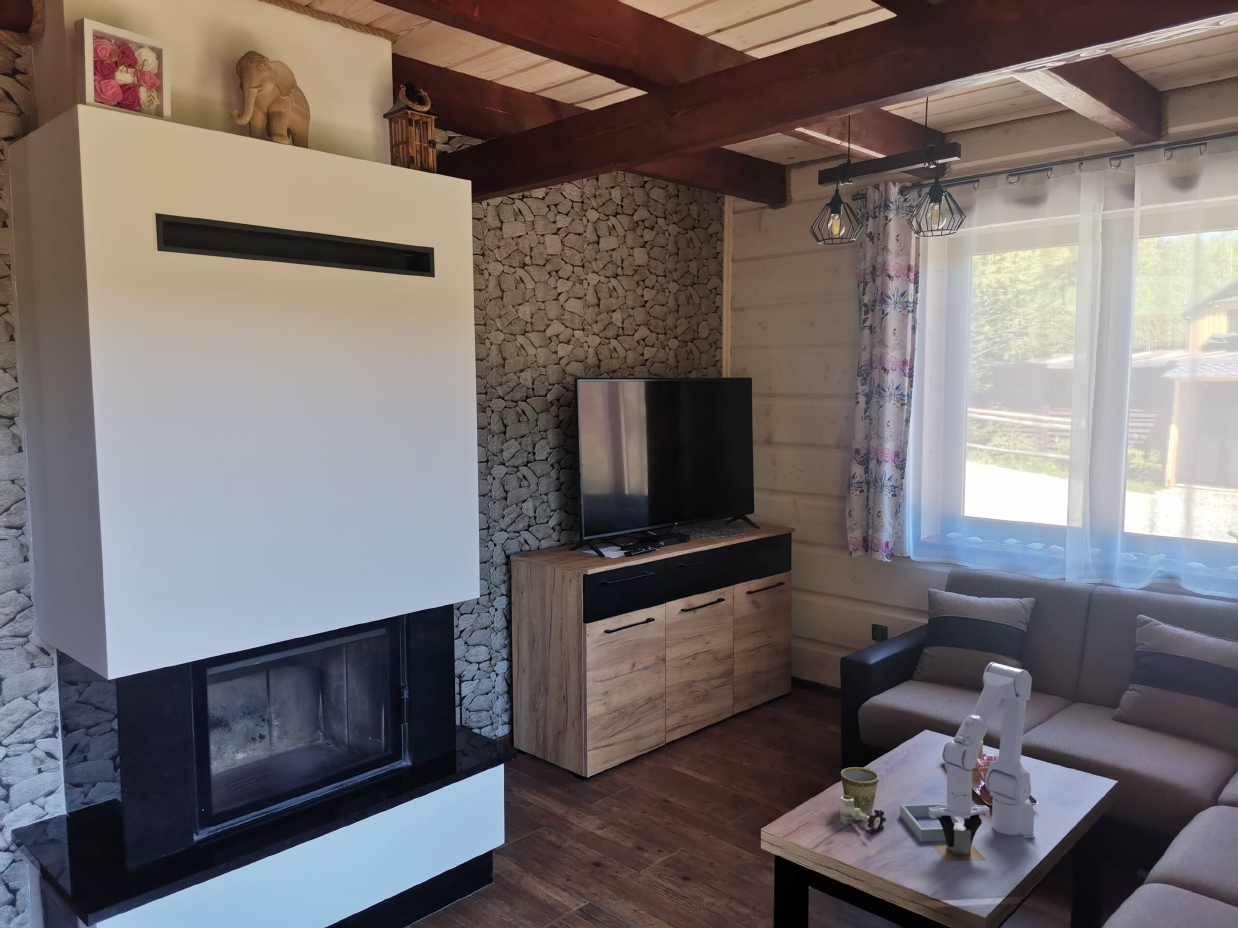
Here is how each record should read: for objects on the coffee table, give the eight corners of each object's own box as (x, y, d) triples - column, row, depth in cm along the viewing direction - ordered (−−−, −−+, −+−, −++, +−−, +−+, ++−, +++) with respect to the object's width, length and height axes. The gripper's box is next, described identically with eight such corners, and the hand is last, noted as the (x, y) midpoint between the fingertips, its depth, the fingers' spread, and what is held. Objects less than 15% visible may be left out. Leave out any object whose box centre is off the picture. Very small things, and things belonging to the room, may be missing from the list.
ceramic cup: (870, 821, 233) (870, 785, 233) (834, 811, 239) (835, 775, 239) (887, 803, 244) (887, 768, 243) (853, 794, 250) (853, 760, 249)
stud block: (970, 846, 219) (970, 832, 219) (985, 863, 211) (986, 848, 211) (931, 848, 218) (932, 834, 218) (945, 865, 211) (945, 850, 210)
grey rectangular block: (963, 847, 217) (963, 821, 217) (970, 855, 213) (971, 830, 212) (946, 847, 217) (946, 822, 216) (954, 856, 213) (954, 830, 212)
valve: (833, 822, 233) (870, 839, 224) (833, 798, 233) (870, 814, 223) (848, 814, 237) (886, 831, 228) (848, 791, 237) (886, 806, 227)
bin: (943, 817, 235) (943, 803, 235) (967, 843, 221) (967, 827, 221) (899, 819, 234) (900, 804, 234) (920, 844, 220) (921, 829, 220)
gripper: (937, 798, 209) (936, 853, 210) (996, 796, 210) (995, 851, 211) (925, 786, 216) (924, 839, 217) (982, 784, 217) (981, 837, 218)
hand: (958, 844), depth 215 cm, fingers closed on grey rectangular block, 4 cm apart
